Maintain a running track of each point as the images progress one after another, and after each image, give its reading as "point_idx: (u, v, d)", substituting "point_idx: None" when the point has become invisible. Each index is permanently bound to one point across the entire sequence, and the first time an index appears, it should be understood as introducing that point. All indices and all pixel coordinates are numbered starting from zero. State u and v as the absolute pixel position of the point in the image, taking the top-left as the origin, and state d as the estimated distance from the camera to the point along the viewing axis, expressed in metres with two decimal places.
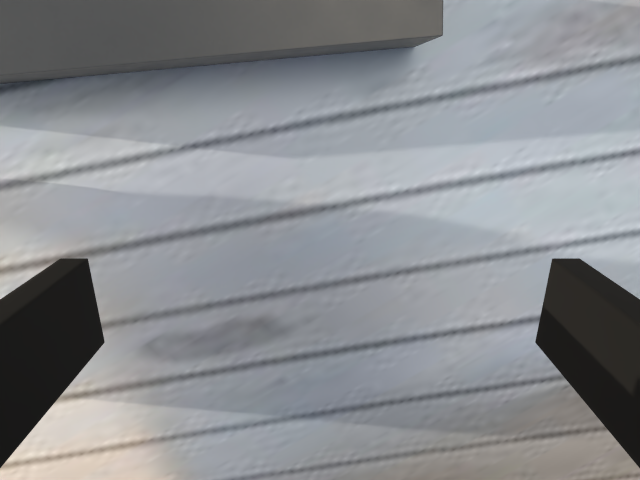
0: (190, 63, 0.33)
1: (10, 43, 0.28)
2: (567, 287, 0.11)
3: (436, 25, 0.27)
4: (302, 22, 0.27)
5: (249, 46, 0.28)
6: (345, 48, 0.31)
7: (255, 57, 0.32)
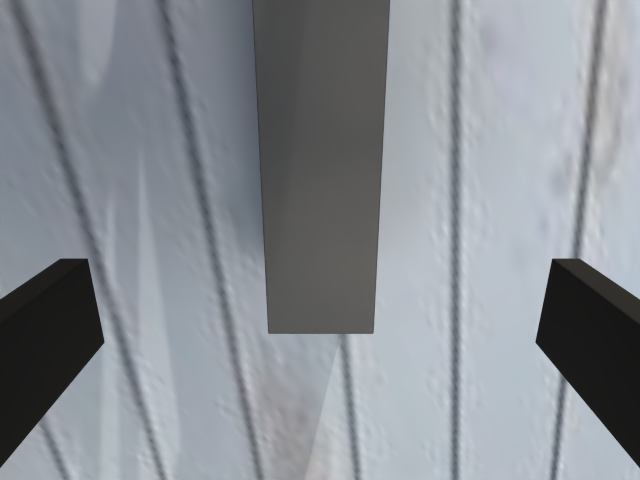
0: None
1: None
2: (567, 287, 0.11)
3: (281, 326, 0.20)
4: (296, 143, 0.17)
5: (264, 48, 0.16)
6: None
7: None
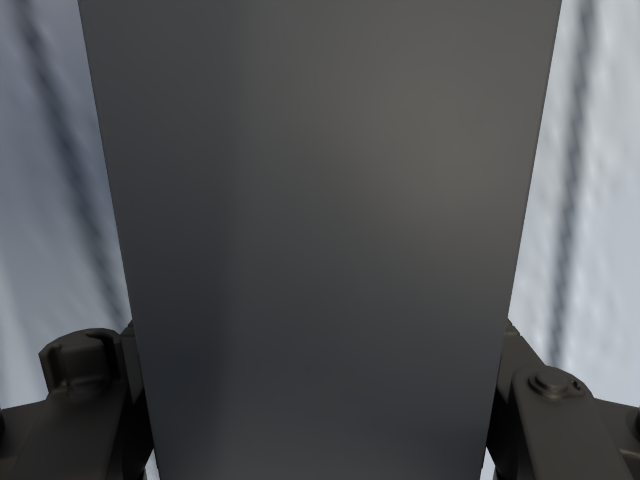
0: None
1: None
2: None
3: None
4: (241, 276, 0.06)
5: None
6: None
7: None
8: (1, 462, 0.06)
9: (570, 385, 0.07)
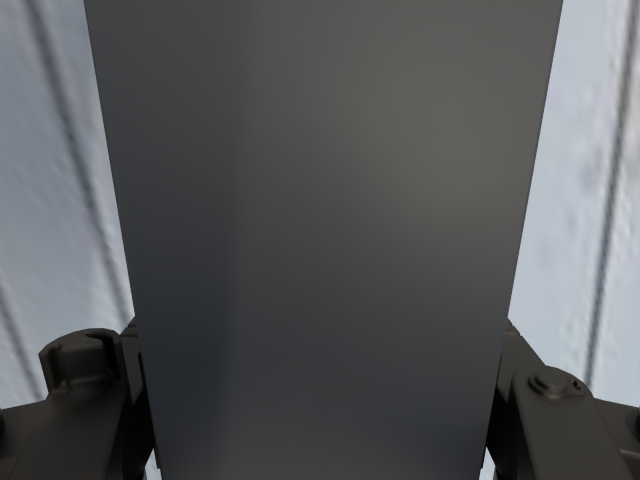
0: None
1: None
2: None
3: None
4: (243, 273, 0.06)
5: None
6: None
7: None
8: (1, 462, 0.06)
9: (571, 385, 0.07)
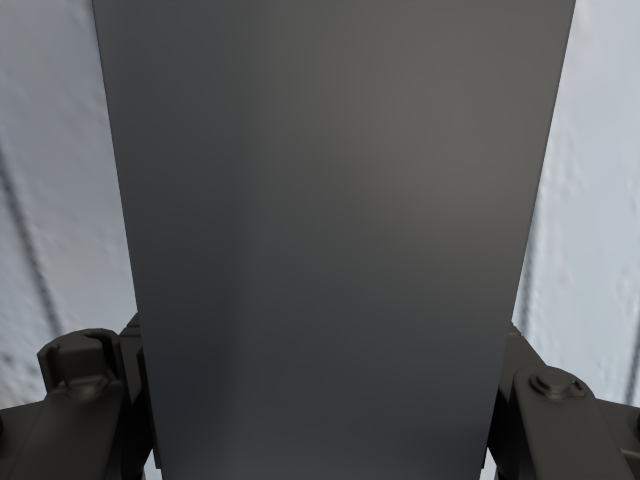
0: None
1: None
2: None
3: None
4: (247, 275, 0.06)
5: None
6: None
7: None
8: None
9: (573, 385, 0.07)
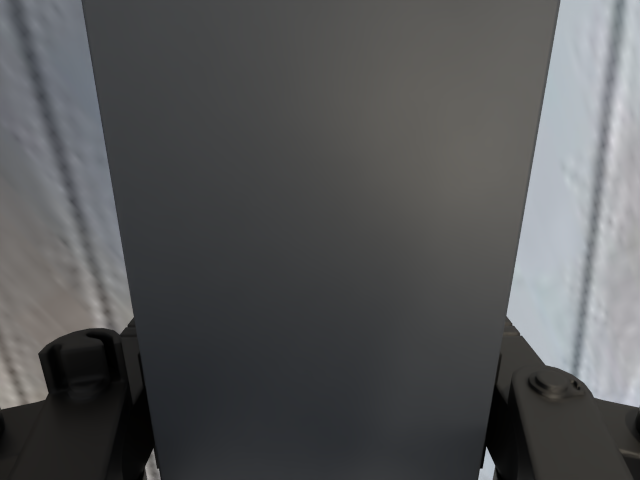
0: None
1: None
2: None
3: None
4: (241, 274, 0.06)
5: None
6: None
7: None
8: (1, 462, 0.06)
9: (571, 385, 0.07)
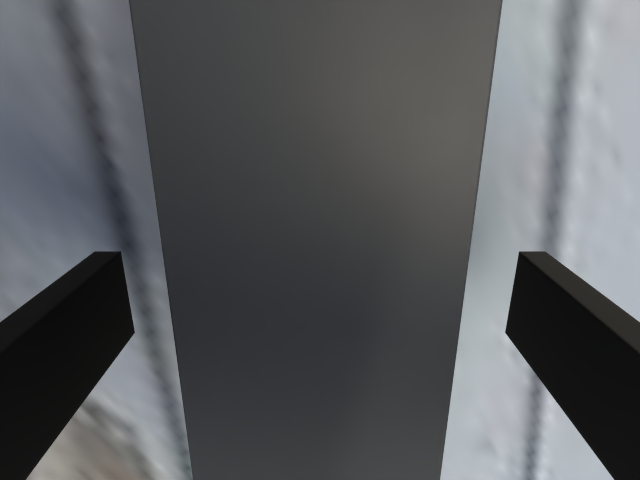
0: None
1: None
2: (531, 278, 0.12)
3: None
4: (253, 231, 0.07)
5: None
6: None
7: None
8: None
9: None
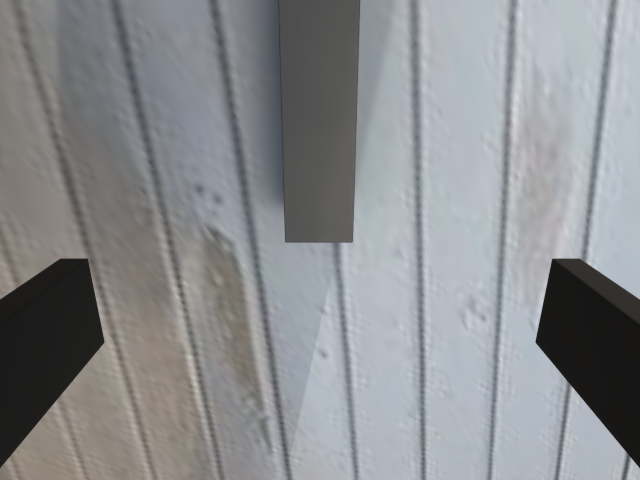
0: None
1: None
2: (567, 287, 0.11)
3: (293, 237, 0.32)
4: (304, 118, 0.29)
5: (285, 60, 0.28)
6: None
7: None
8: None
9: None
